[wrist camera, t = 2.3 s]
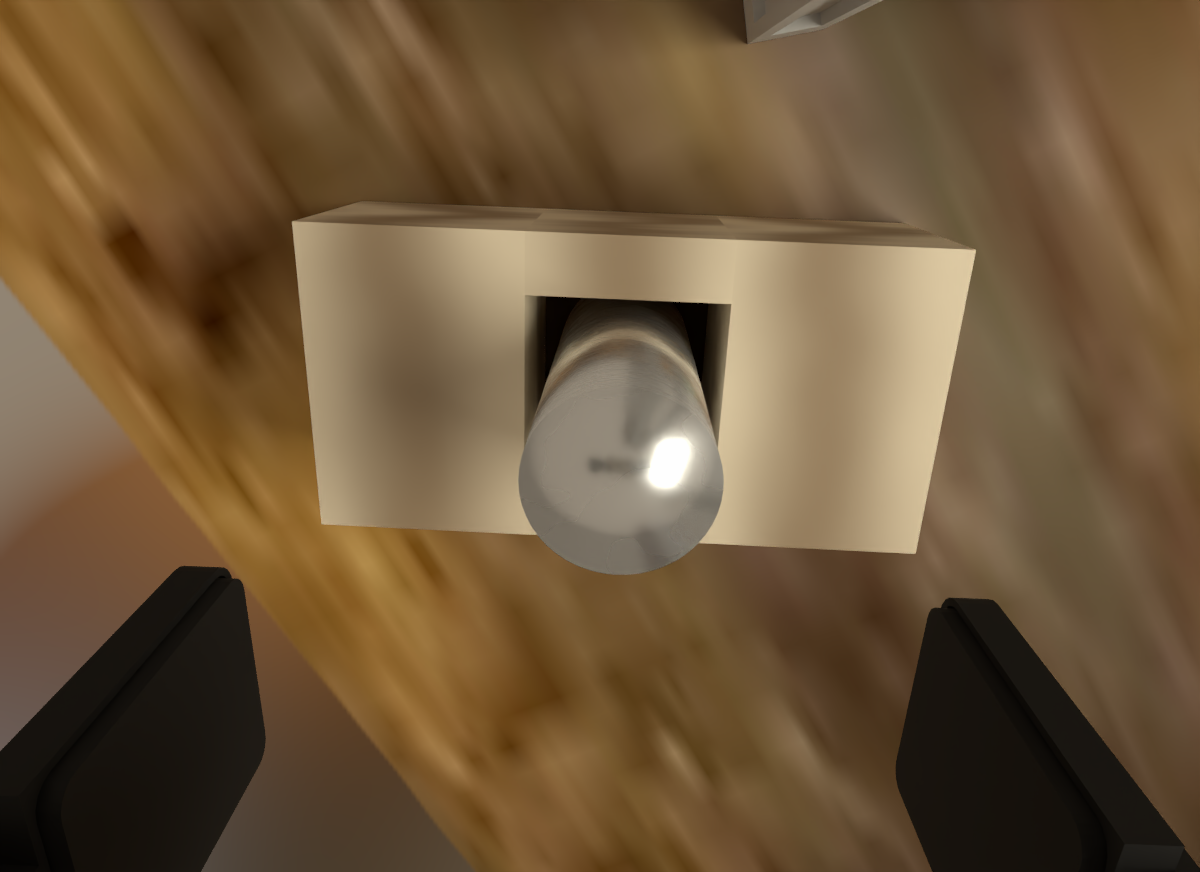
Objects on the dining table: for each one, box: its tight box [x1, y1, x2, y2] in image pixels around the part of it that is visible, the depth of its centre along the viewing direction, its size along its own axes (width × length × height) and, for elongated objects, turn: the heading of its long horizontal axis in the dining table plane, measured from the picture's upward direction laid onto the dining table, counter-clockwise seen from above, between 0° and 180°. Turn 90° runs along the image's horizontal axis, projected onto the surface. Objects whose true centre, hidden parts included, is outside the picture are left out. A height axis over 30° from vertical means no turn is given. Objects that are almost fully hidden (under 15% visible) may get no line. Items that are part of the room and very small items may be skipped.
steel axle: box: [518, 298, 724, 575], centre depth 23 cm, size 4×4×12 cm
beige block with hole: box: [292, 201, 976, 554], centre depth 26 cm, size 18×9×6 cm, turn 88°
